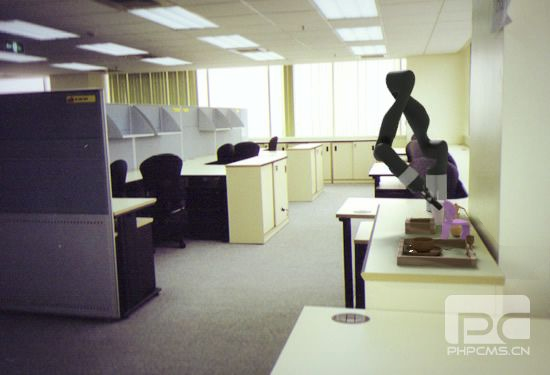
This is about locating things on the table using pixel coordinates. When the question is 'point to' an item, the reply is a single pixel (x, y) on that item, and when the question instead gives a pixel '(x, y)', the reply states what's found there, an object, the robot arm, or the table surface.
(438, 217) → the smoothie
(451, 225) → the toy chair
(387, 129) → the robot arm
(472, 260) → the tray rim
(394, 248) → the table surface
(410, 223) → the holder
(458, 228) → the figurine
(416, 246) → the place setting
